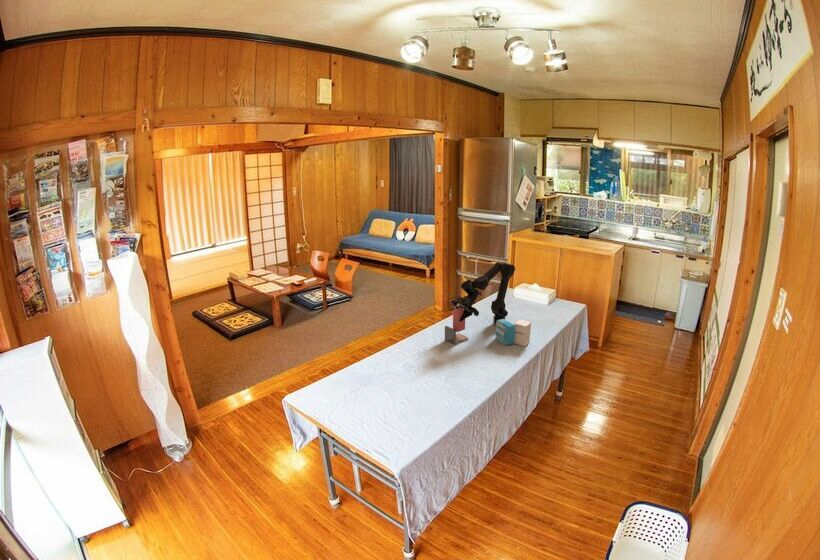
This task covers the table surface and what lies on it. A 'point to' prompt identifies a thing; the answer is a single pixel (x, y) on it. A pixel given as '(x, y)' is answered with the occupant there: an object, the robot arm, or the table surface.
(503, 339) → the data package
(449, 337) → the metal bookend
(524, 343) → the supplement box
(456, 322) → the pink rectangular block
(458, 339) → the tan flat rectangular slab
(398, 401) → the table surface
